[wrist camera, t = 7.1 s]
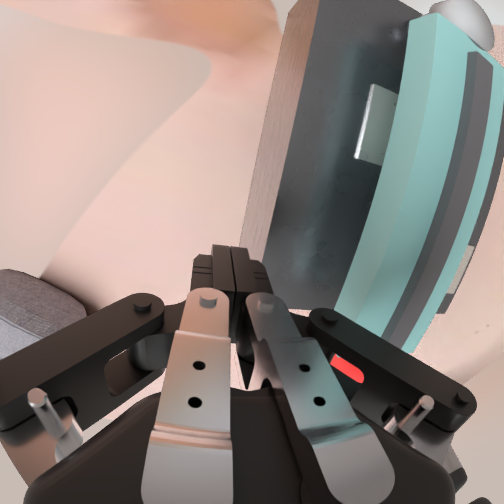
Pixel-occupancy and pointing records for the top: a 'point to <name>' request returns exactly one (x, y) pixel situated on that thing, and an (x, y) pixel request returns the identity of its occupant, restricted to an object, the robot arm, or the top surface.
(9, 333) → the small grey backpack
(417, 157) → the bar
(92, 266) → the top surface
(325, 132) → the box
